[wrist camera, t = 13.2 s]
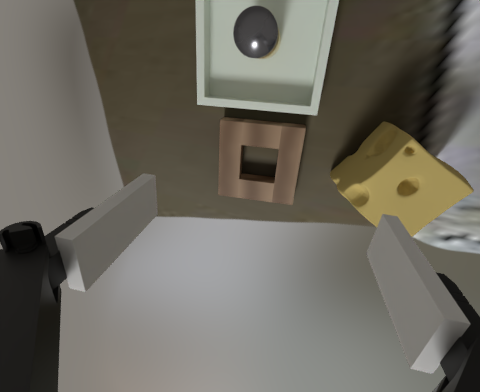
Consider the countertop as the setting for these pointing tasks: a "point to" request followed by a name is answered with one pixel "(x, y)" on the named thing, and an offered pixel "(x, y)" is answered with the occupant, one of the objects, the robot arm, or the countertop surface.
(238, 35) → the brown and black cylinder
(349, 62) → the countertop surface
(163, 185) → the countertop surface
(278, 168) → the pin block
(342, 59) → the countertop surface
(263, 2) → the tray
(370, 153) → the cheese
